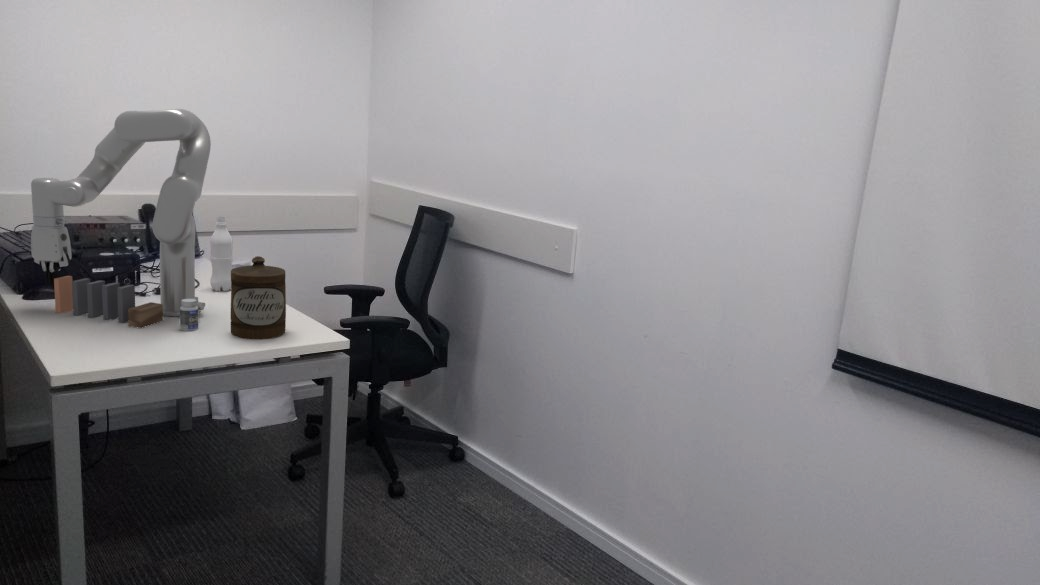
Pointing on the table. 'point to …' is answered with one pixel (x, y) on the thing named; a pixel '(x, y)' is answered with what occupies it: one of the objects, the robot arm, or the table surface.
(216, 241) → the water bottle
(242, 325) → the wooden container
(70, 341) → the table surface
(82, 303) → the domino
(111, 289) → the domino
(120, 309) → the domino
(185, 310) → the pill bottle
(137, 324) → the brown wooden block
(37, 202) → the robot arm
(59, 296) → the domino
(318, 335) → the table surface
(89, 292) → the domino
